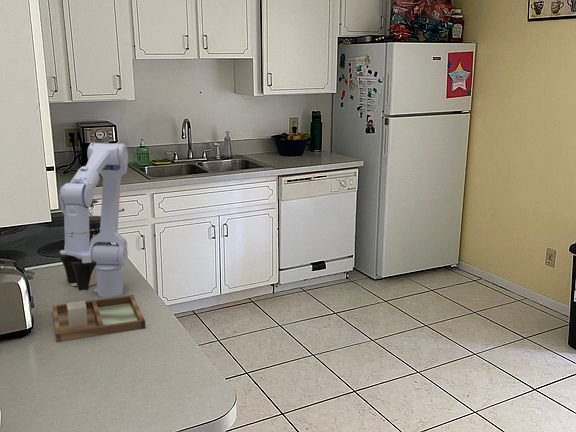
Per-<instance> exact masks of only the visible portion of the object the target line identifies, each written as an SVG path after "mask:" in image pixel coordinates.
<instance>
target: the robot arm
mask: <svg viewBox="0 0 576 432" xmlns="http://www.w3.org/2000/svg"><path fill="white" fill-rule="evenodd" d="M86 153H87V161H86V162H87V163H86V164H85V165H84V166H81V167H80V168H78V169H77V171H76V172H75V174H74V175H73V177H72V179H71V181H70V182H66V183H65V184H63V185H62V186H61V187H60V191H59V195H58V197H59V198H58V199H59V203H60V205H61V213H62V214H63V215H64V216H63V217H64V218H63V219H64V222H63V223H64V224H63V225H64V227H63V228H64V246H63V247H64V249H62V250H59V254H60V255H59V259H60V261H61V263H62V265H63V267H64V270H65V274H66V279H67V283H68V284H69V285H70V284H72V283H77V286H78V287H77V290H78V291H86V290H87V291H88V290H89V288H90V286H89V283H90V278H91V274H92V272H93V270H94V269H96V279H97V283H96V288H94V290H93V292H95V293H97V296H98V297H101V298H114V297H120V296H121V295H122V294H123V293H124V282H123V280H124V279H123V267H124V266H125V265H126V264H127V261H128V257H129V251H128V242H127V240H126V239H125V237H123V236H122V235H121V233H119V232H118V231H119V216H120V215H119V213H120V193H121V182H122V176H124V175H126V174H127V172H128V171H127V170H128V163H129V152H128V148H127V146H126V145H125V143H103V142H102V143H100V142H99V143H98V142H90V144H89V145H88V147H87V152H86ZM100 175H101V177H102V192H101V193H102V196H101V208H100V211H101V212H100V216H101V224H100V228H99V230H100V233H99V234H95V235H94V237H93V238H92V239H91V243H90V240H89V231H90V229H89V216H90V208H91V207H90V205H91V204H92V200H94V199H93V198H94V194H95V191H94V190H95V188H96V186H97V185H98V184H99V182H100ZM107 243H112V244H107ZM114 243H115V244H114Z"/></svg>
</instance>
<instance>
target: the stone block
mask: <svg viewBox="0 0 576 432" xmlns="http://www.w3.org/2000/svg"><path fill="white" fill-rule="evenodd" d="M66 304H67V315H68V324H69V328H73V327H80V326H87V325H88V323H87V309H86V304H85V300H79V301H72V302H71V301H70V302H66Z"/></svg>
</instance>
